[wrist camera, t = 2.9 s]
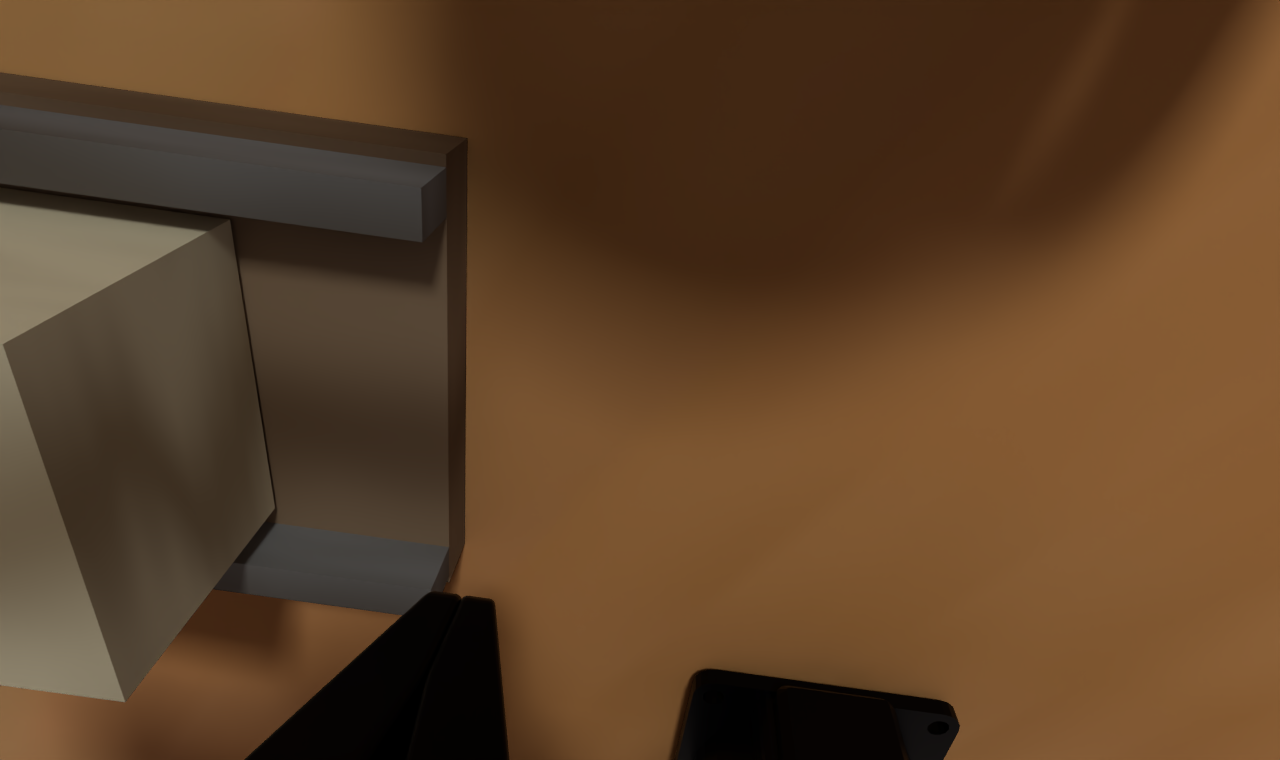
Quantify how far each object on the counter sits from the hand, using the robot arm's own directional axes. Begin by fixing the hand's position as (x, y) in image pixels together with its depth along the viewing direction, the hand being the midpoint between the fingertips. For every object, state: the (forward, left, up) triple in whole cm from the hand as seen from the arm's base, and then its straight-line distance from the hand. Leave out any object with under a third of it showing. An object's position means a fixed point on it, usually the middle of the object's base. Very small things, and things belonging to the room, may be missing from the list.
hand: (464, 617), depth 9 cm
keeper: (0, +8, -5) cm, 9 cm away
